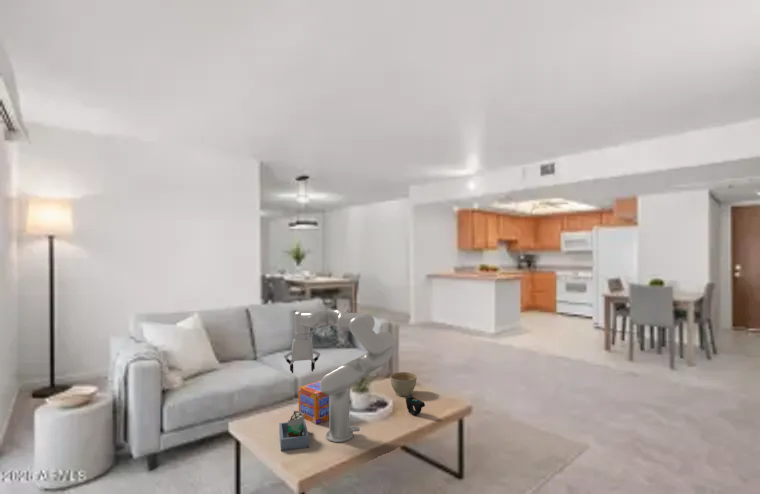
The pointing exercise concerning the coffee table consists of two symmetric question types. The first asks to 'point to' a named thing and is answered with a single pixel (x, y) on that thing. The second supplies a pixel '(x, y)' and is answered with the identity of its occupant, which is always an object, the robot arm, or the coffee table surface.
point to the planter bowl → (403, 383)
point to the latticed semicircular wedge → (295, 424)
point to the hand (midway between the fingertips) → (302, 371)
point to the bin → (293, 438)
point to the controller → (416, 403)
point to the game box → (313, 403)
